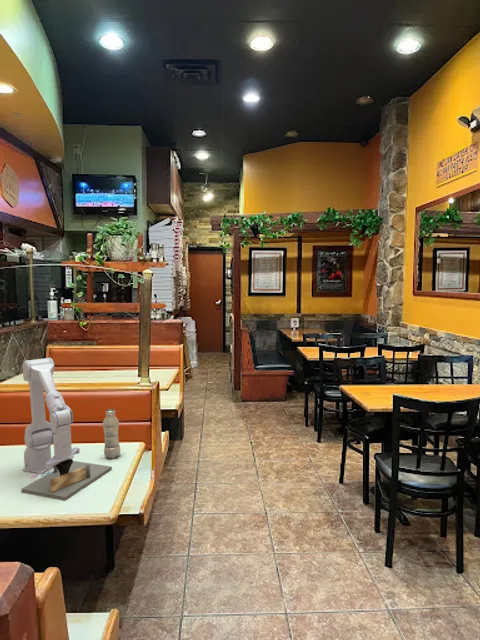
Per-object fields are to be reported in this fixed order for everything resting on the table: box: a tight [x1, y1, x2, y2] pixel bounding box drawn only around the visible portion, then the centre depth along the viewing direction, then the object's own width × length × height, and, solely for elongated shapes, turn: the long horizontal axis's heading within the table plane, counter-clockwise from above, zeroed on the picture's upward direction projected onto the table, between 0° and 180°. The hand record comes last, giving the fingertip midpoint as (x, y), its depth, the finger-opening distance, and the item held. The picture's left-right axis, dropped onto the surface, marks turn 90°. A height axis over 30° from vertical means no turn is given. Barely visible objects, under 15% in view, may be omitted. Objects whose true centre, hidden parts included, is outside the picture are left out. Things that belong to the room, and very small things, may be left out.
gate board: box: [20, 460, 113, 501], centre depth 154 cm, size 19×25×6 cm
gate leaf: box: [50, 467, 86, 492], centre depth 148 cm, size 13×1×4 cm, turn 142°
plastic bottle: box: [102, 408, 121, 459], centre depth 174 cm, size 6×7×20 cm
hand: (64, 480), depth 149 cm, fingers closed, pressing on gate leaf
